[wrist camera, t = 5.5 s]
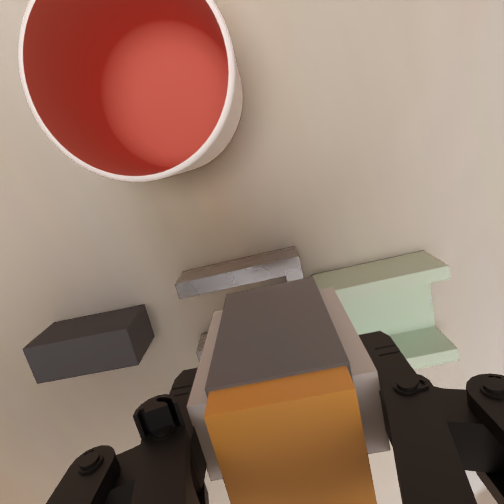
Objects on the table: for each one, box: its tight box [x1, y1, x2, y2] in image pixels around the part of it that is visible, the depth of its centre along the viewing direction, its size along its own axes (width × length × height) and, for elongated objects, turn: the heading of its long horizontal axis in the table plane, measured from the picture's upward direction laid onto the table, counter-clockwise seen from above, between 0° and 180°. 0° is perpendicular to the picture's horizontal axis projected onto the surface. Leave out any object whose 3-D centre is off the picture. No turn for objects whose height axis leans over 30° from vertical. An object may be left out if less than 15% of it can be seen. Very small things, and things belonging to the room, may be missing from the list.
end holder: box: [311, 250, 459, 370], centre depth 29 cm, size 9×8×4 cm
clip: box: [175, 246, 303, 362], centre depth 29 cm, size 9×7×3 cm
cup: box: [18, 0, 243, 182], centre depth 22 cm, size 10×10×10 cm
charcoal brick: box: [23, 304, 154, 384], centre depth 29 cm, size 8×3×4 cm, turn 102°
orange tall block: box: [204, 276, 377, 504], centre depth 13 cm, size 4×4×8 cm
